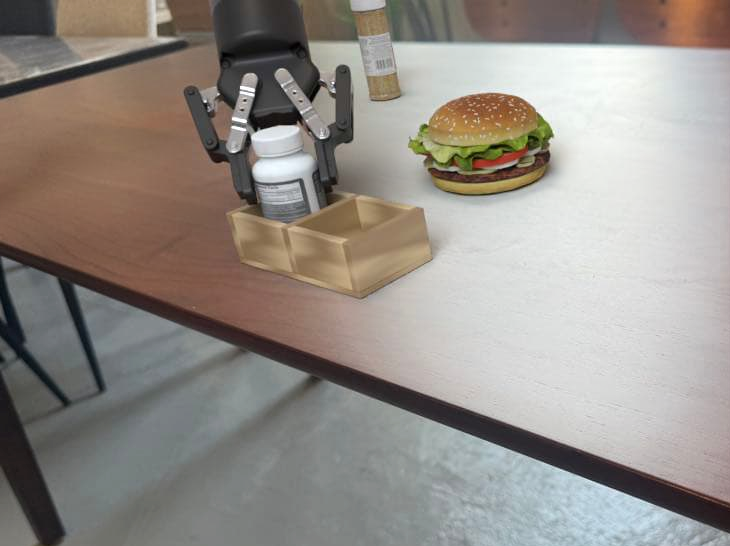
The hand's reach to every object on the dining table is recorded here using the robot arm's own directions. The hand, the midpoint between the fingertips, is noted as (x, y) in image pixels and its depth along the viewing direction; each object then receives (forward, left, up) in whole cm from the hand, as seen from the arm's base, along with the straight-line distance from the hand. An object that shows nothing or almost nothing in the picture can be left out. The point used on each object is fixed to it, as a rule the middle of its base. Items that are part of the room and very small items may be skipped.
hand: (289, 193), depth 70 cm
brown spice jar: (+20, +52, -6) cm, 57 cm away
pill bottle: (0, +2, -5) cm, 6 cm away
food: (+20, +11, -6) cm, 23 cm away
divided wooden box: (+2, -2, -6) cm, 6 cm away
